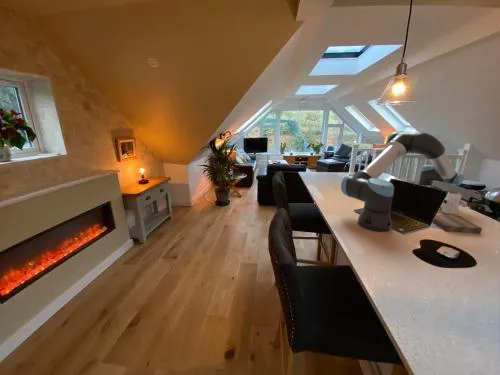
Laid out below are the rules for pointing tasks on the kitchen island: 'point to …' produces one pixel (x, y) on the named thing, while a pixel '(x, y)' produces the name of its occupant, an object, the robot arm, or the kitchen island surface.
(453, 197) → the can
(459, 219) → the walnut board
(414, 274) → the kitchen island surface
